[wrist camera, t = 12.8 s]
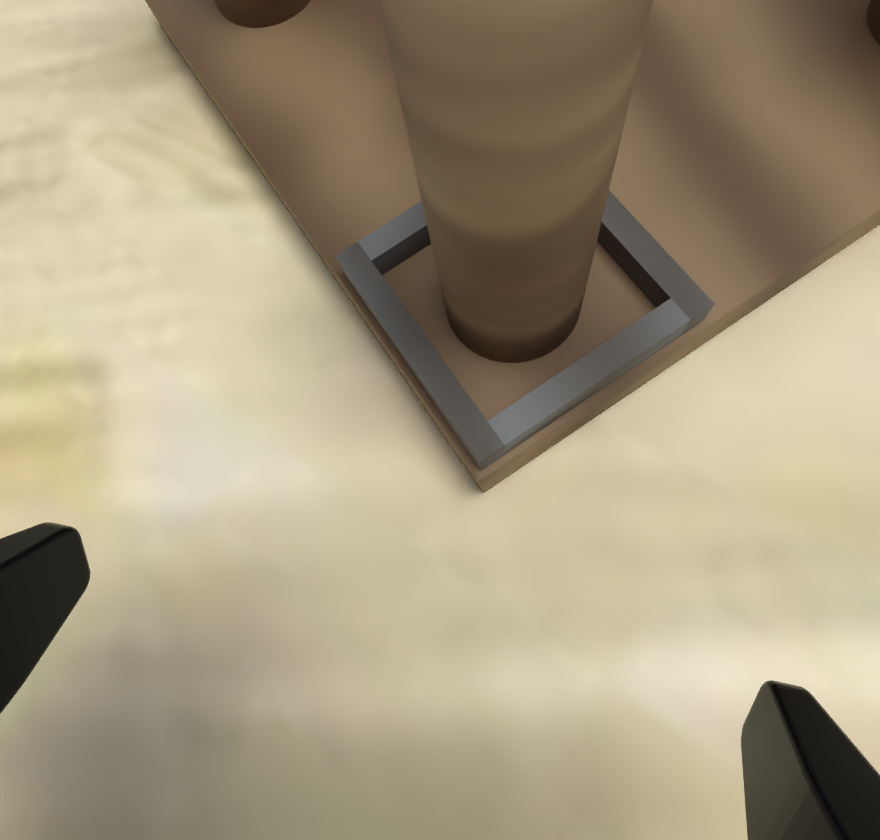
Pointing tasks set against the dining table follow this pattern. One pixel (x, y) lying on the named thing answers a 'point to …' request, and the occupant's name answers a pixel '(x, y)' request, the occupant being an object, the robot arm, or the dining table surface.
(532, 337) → the stool leg
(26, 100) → the dining table surface
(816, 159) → the peg board
